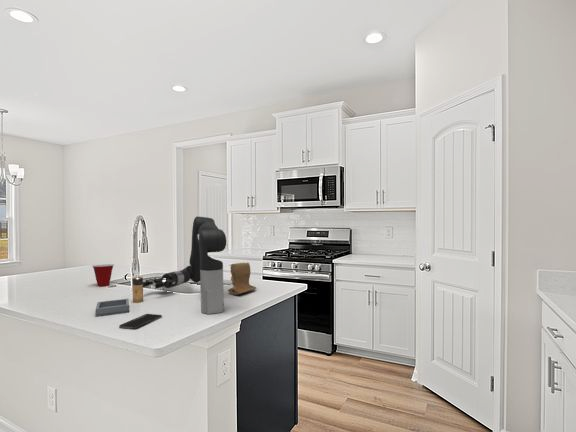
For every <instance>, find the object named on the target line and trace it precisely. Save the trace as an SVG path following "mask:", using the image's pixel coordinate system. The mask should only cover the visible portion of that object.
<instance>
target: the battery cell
mask: <svg viewBox="0 0 576 432" xmlns="http://www.w3.org/2000/svg"><path fill="white" fill-rule="evenodd" d="M131 280H132V284H131V285H132V302H133V304H136V303H137V304H138V303H144V287H143V282H144V277H143V276H140V275H136V276H133V277H132V279H131Z"/></svg>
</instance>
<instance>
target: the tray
mask: <svg viewBox="0 0 576 432" xmlns="http://www.w3.org/2000/svg"><path fill="white" fill-rule="evenodd" d="M128 313H130V299H129V298H123V299H122V298H121V299H113V300H104V301H97V303H96V307H95V317H96V318H97V317H104V316H113V315H119V314H128Z"/></svg>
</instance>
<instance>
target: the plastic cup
mask: <svg viewBox="0 0 576 432" xmlns="http://www.w3.org/2000/svg"><path fill="white" fill-rule="evenodd" d="M114 266H115V264H113V263H112V264H111V263H110V264H109V263H107V264H106V263H105V264H93V265H92V268H93V271H94V272H93V273H94V275H95V276H94V277H95V280H96V284H97V287H98V286H99V288H100V287H101V288H102V287H109V286H110V284H111V279H112V278H111V277H112V274H113V268H114Z"/></svg>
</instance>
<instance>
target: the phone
mask: <svg viewBox="0 0 576 432" xmlns="http://www.w3.org/2000/svg"><path fill="white" fill-rule="evenodd" d="M162 318H163V315H162V314H156V313H155V314H154V313H145V314H142V315H140V316H138V317H136V318H133V319H130V320H129V321H126V322H124V323H121V324H120V325H119V327H118V328H119V329H122V330H124V329H125V330H132V331H133V330H135V331H136V330H139V329H141V328H143V327H146V326H147V325H149V324H151V323H154V322H156V321H158V320H160V319H162Z"/></svg>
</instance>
